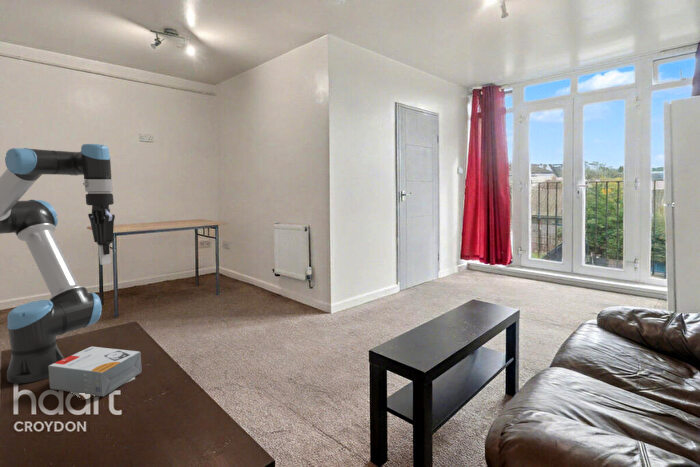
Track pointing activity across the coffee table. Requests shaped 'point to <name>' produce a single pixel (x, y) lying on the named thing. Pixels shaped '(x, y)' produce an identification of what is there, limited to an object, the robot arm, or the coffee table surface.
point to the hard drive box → (95, 370)
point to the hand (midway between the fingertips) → (105, 263)
